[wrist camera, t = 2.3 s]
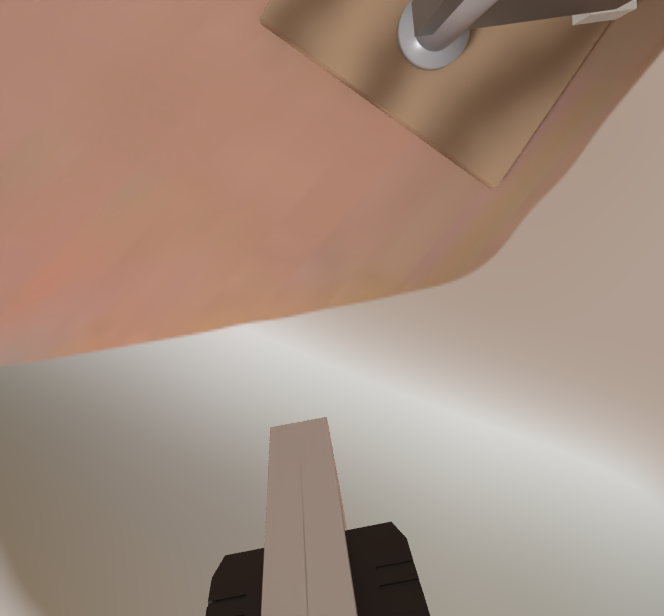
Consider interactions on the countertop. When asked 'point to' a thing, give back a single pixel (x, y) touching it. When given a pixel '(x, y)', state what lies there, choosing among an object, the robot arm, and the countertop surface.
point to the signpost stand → (473, 23)
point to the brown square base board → (444, 75)
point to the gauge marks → (604, 14)
